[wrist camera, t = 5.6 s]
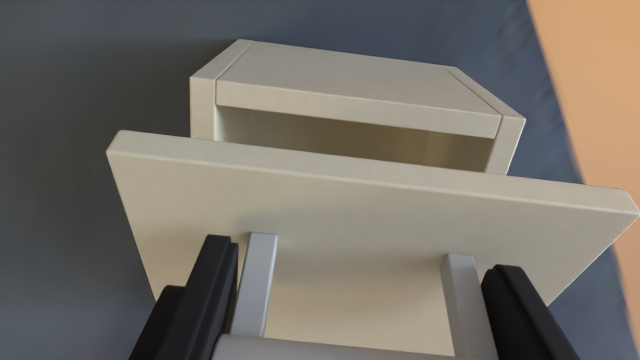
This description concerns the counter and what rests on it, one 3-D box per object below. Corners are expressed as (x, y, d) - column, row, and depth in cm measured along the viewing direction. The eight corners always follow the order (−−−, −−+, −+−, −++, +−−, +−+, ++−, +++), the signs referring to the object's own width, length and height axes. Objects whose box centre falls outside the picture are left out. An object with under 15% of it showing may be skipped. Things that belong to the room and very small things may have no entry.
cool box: (238, 38, 22) (189, 76, 14) (456, 67, 23) (527, 118, 15) (230, 273, 29) (194, 387, 21) (396, 290, 30) (422, 408, 22)
